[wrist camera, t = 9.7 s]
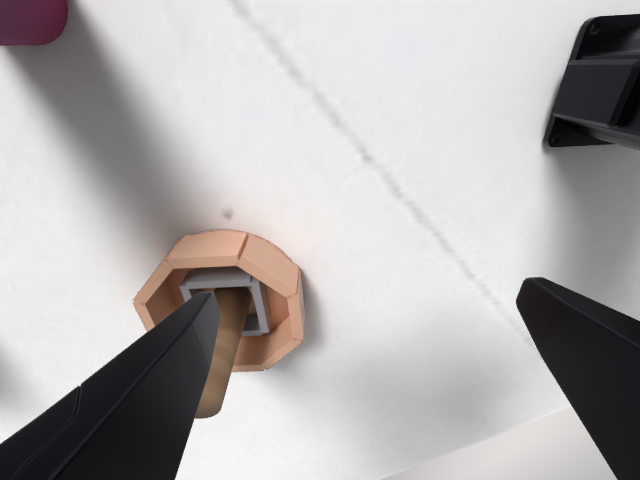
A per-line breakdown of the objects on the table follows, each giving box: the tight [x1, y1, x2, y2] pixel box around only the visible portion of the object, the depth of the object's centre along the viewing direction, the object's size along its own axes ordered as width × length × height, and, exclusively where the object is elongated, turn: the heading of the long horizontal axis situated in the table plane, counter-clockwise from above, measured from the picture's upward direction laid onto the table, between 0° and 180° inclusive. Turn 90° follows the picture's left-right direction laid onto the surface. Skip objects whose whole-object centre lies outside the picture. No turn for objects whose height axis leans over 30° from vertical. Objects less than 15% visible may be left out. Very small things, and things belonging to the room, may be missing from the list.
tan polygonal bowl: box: [133, 230, 305, 372], centre depth 23 cm, size 12×12×4 cm
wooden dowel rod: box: [195, 286, 252, 418], centre depth 20 cm, size 3×3×9 cm
